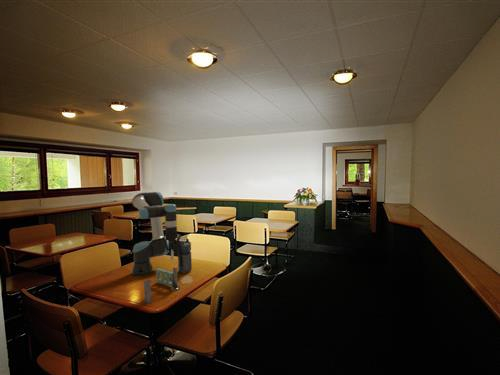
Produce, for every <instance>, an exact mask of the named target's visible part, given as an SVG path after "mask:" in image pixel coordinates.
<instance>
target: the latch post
mask: <svg viewBox="0 0 500 375" xmlns="http://www.w3.org/2000/svg"><path fill="white" fill-rule="evenodd" d="M142 283H143V284H144V303H145V304H149V303H151V302H152V297H151V296H152V294H151V293H152V292H151V291H152V288H151V283H152V280H151V279H146V280H143V282H142Z"/></svg>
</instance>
